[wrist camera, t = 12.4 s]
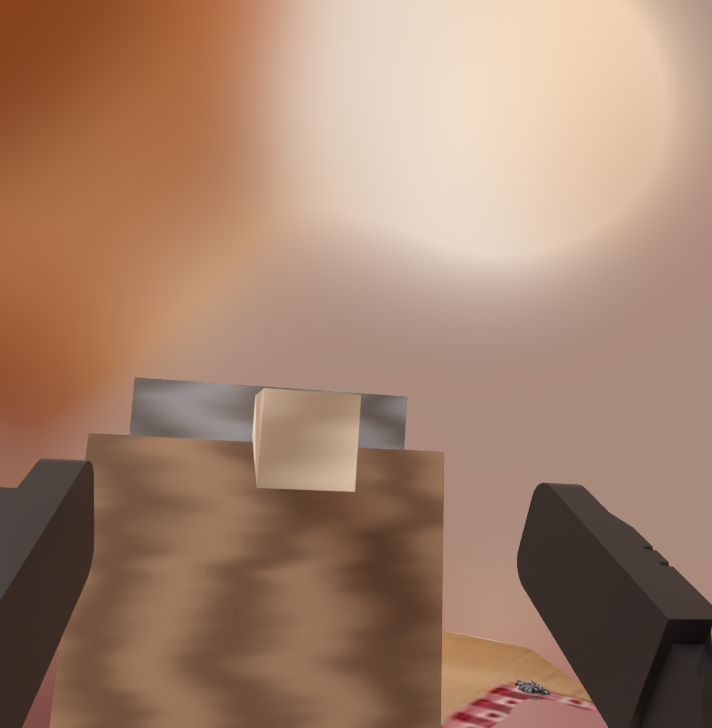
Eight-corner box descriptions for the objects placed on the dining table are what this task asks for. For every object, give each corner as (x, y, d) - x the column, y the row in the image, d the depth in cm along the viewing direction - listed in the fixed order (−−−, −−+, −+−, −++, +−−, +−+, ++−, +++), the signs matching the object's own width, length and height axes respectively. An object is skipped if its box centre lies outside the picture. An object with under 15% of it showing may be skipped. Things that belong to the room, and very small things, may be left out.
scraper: (384, 447, 40) (387, 397, 40) (602, 522, 15) (606, 391, 16) (144, 434, 37) (149, 380, 37) (-62, 501, 12) (-42, 341, 13)
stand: (363, 932, 39) (379, 458, 45) (434, 1204, 24) (444, 452, 31) (83, 961, 36) (142, 446, 42) (-27, 1294, 21) (88, 433, 27)
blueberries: (517, 683, 92) (516, 670, 92) (568, 691, 87) (566, 678, 87) (500, 695, 86) (499, 681, 87) (553, 704, 82) (551, 690, 82)
